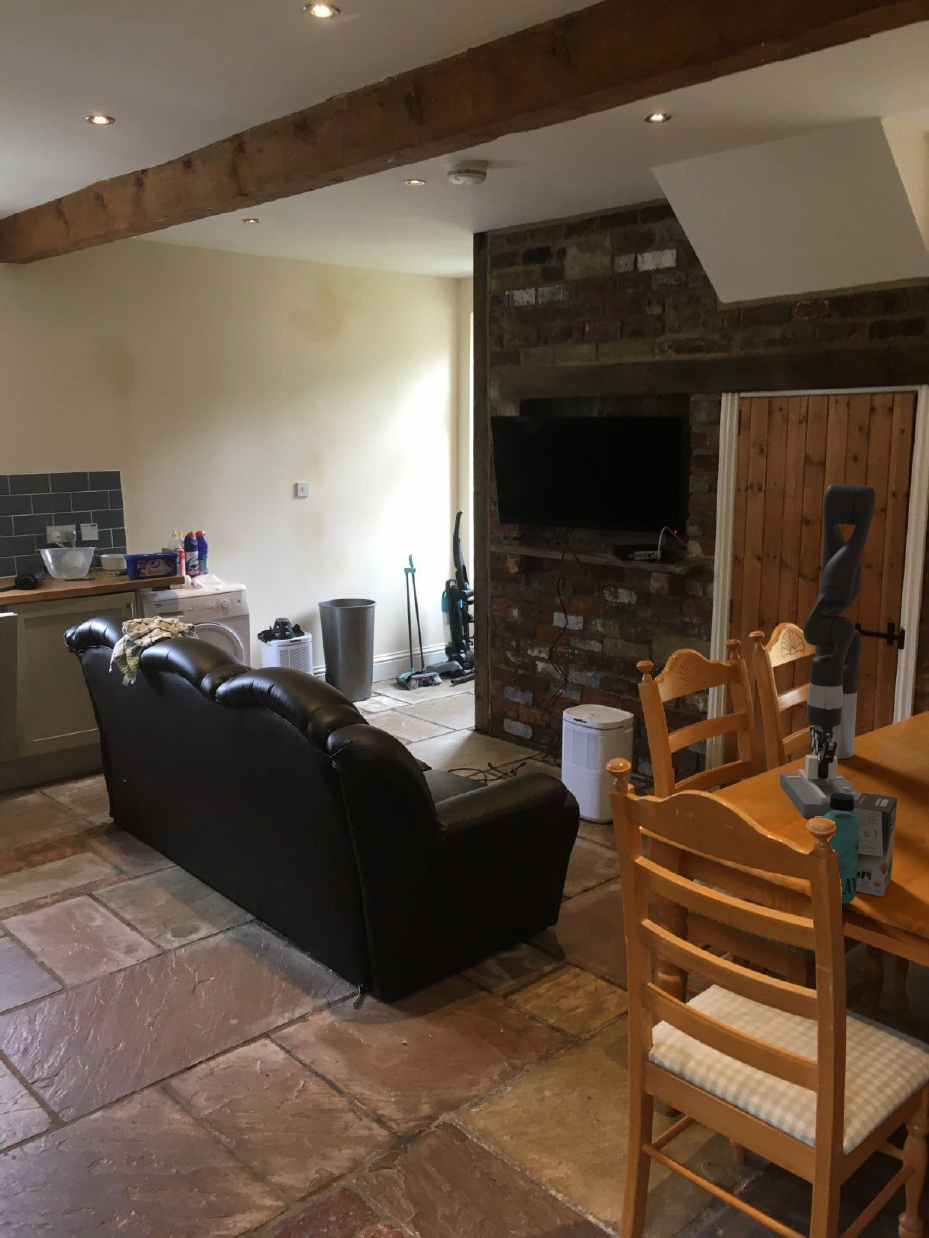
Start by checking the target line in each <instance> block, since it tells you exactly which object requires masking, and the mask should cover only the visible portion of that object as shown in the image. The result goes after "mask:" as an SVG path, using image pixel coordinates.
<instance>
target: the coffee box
mask: <svg viewBox="0 0 929 1238" xmlns="http://www.w3.org/2000/svg"><path fill="white" fill-rule="evenodd" d="M860 794H861V795H860V797H859V798H858V799H857V801H856V802H855V804H854V810H853V815H854V816H855V817H856V818H857V819H858V820H859V822H860V825H859V840H858V842H859V845H858V846H859V847H858V849H859V850H858V851H859V853H858V856H857V860H858V861H857V865H858V866H857V867H858V869H857V872H856V873H857V882H856V883H857V886H856V891H855V893H863V894H866V895H871V896H877V897H884V895H885V893H886V892H887V888H888V886H890V882H891V881H892V876H893V860H894V846H895V844H894V843H895V831H896V820H897V819H896V818H897V804H898V797H894V796H889V795H883V794H876V793H866V792H861V793H860Z"/></svg>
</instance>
